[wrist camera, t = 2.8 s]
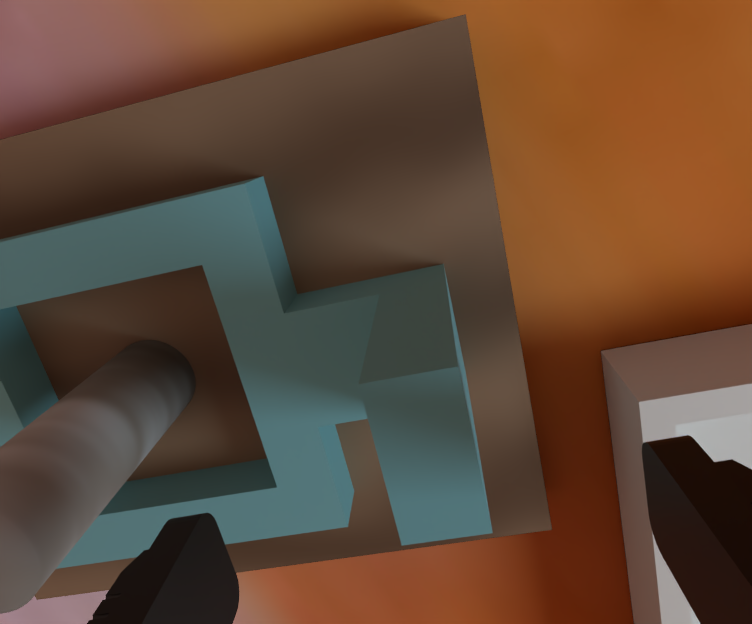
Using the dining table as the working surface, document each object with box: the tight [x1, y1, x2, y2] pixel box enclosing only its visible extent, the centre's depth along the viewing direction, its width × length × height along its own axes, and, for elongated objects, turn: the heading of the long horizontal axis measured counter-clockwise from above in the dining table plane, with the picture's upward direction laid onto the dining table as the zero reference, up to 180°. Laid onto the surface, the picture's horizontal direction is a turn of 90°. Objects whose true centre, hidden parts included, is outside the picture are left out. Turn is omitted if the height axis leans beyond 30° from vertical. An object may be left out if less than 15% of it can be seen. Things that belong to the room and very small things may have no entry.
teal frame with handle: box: [0, 176, 493, 569], centre depth 17 cm, size 12×17×8 cm
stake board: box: [0, 14, 552, 613], centre depth 17 cm, size 18×22×11 cm
